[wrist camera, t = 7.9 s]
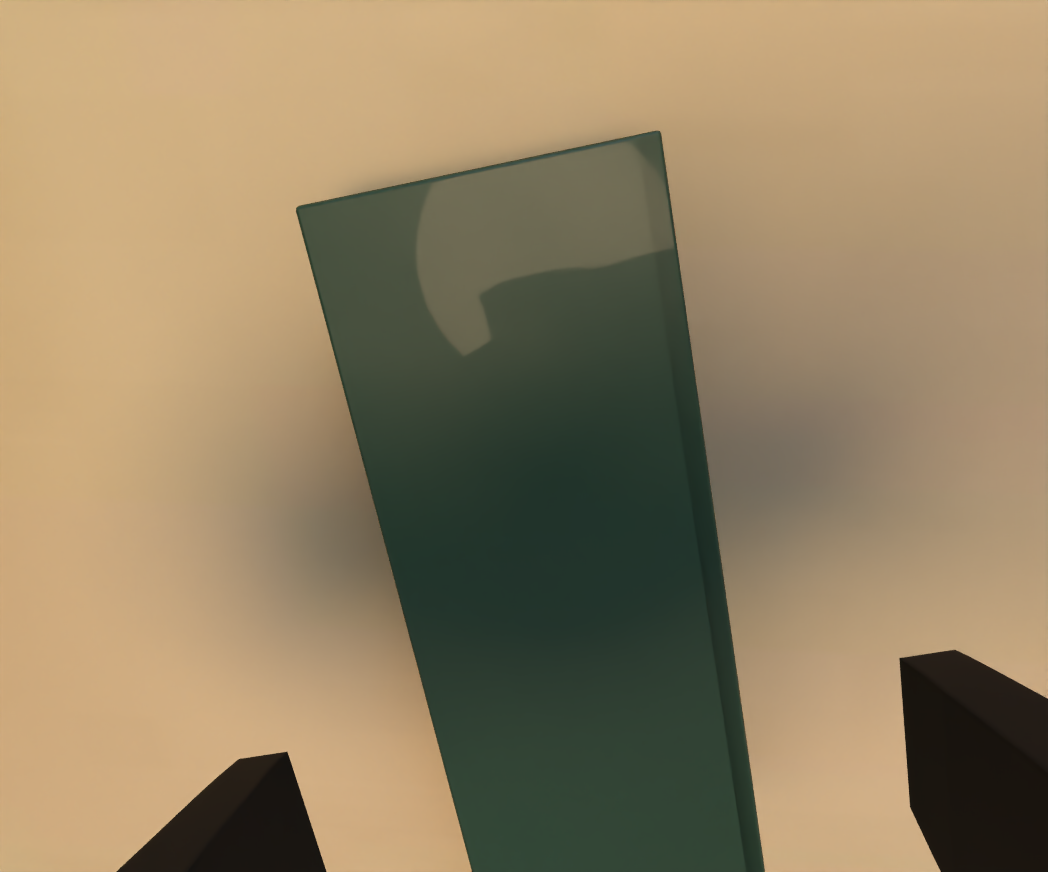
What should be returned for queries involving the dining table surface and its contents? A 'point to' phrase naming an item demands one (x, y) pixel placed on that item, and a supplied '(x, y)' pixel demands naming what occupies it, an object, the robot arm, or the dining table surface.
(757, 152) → the dining table surface
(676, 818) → the book
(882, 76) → the dining table surface
